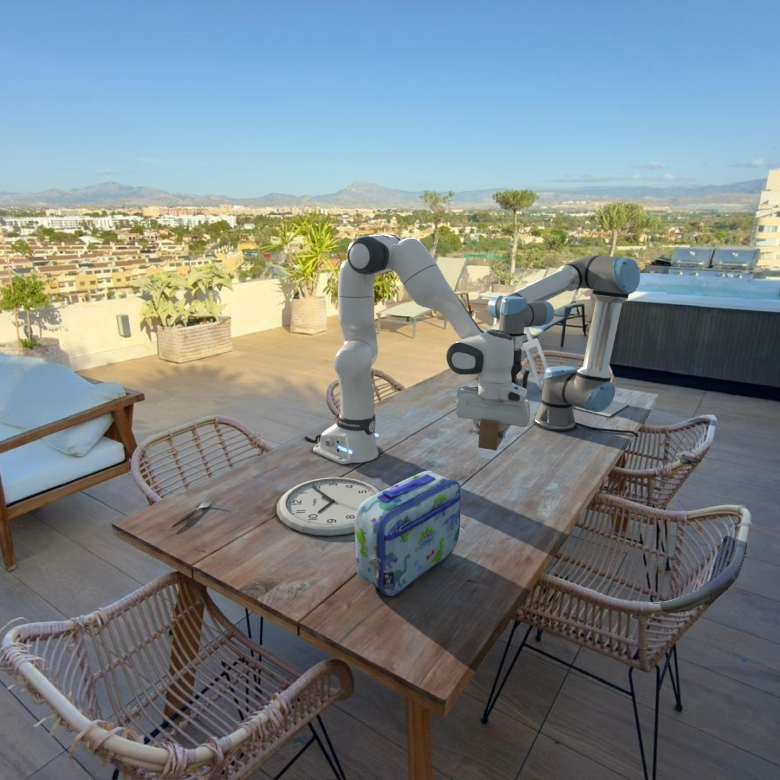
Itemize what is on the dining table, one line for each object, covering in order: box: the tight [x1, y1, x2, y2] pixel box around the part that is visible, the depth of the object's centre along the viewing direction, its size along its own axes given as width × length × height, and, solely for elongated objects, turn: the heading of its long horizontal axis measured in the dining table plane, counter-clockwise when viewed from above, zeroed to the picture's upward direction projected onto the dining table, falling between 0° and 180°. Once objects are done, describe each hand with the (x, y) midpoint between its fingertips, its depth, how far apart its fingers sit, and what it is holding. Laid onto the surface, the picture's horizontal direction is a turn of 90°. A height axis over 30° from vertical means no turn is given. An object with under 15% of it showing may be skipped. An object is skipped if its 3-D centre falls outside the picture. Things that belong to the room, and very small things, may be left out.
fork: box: [171, 493, 217, 529], centre depth 137 cm, size 3×16×2 cm, turn 160°
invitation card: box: [573, 400, 629, 418], centre depth 226 cm, size 21×1×15 cm
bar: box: [477, 419, 505, 451], centre depth 157 cm, size 28×5×8 cm, turn 158°
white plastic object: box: [470, 327, 549, 391], centre depth 258 cm, size 37×45×31 cm
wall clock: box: [276, 476, 382, 537], centre depth 142 cm, size 30×2×30 cm
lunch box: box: [354, 470, 461, 597], centre depth 113 cm, size 26×11×21 cm, turn 134°
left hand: (490, 435), depth 148 cm, fingers closed on bar, 5 cm apart
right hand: (503, 418), depth 167 cm, fingers closed on bar, 5 cm apart
